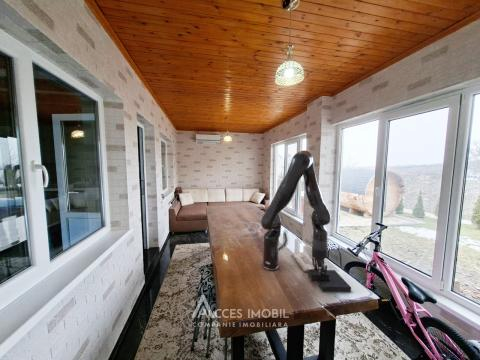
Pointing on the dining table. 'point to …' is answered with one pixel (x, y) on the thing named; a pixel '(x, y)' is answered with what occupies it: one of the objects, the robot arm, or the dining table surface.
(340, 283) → the notched mat
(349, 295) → the dining table surface
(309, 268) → the newspaper
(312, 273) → the black pad
